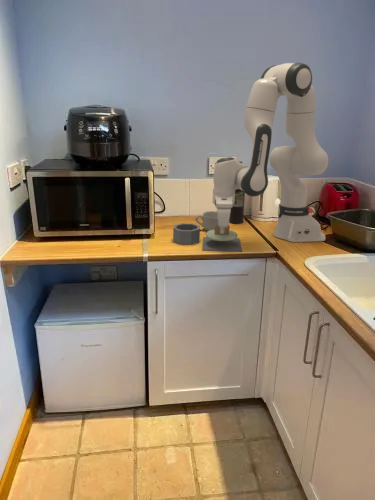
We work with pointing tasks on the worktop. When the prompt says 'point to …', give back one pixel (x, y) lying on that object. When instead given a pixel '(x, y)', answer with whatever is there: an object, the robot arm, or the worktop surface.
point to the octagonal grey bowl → (186, 234)
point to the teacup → (208, 220)
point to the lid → (218, 236)
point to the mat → (221, 245)
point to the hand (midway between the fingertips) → (221, 231)
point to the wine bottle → (237, 207)
